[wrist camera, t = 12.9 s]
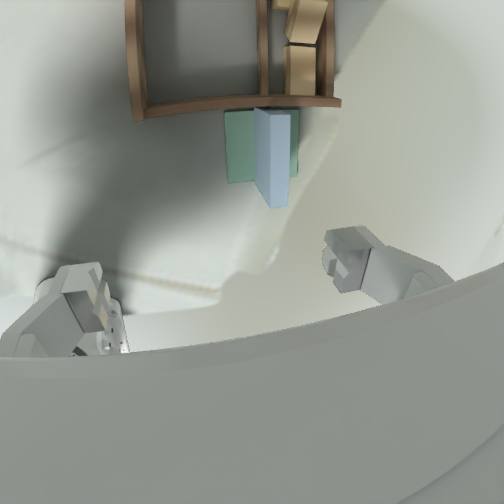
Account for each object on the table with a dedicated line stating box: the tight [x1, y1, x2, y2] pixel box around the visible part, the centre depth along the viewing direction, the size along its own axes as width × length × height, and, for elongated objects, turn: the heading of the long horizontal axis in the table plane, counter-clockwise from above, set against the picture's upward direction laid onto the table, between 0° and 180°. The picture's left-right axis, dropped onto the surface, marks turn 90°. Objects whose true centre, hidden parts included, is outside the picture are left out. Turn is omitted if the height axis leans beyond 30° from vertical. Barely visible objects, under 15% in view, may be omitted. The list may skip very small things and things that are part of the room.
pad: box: [224, 109, 299, 183], centre depth 34 cm, size 9×9×1 cm
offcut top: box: [284, 0, 328, 44], centre depth 23 cm, size 6×3×2 cm
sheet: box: [254, 106, 291, 208], centre depth 31 cm, size 10×2×7 cm, turn 1°
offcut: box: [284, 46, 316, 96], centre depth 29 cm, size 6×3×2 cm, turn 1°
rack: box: [125, 0, 341, 122], centre depth 23 cm, size 19×22×6 cm
